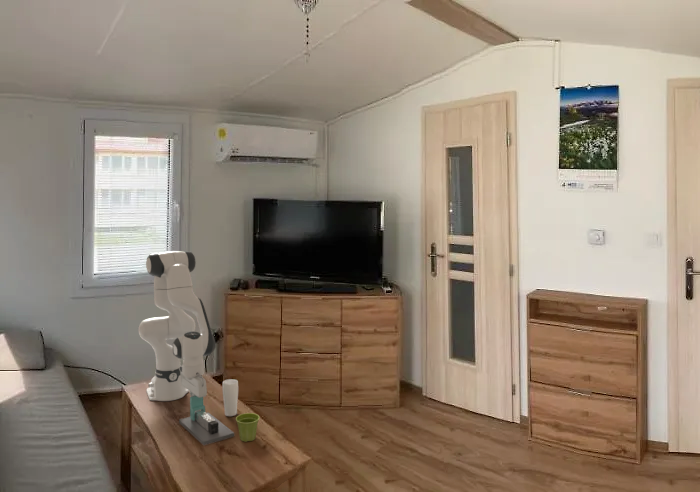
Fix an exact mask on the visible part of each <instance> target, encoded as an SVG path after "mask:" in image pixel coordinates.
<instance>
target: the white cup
mask: <svg viewBox="0 0 700 492" xmlns="http://www.w3.org/2000/svg"><path fill="white" fill-rule="evenodd" d="M222 397H223V406H224V415H225V416H226V417H233V416H234V417H235V416H236V415H238V401H239V399H238V398H239V381H238V380H237V379H234V378H233V379H232V378H229V379H225V380H223V381H222Z"/></svg>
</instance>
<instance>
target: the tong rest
mask: <svg viewBox="0 0 700 492" xmlns="http://www.w3.org/2000/svg"><path fill="white" fill-rule="evenodd" d="M197 411H201V410H197ZM197 411H195V421H193V420H191V419H190V416H188V417H185V418H184V417H183V418H179V419H178V420H179V421H178V423H179V425H181V426H182V427H183V428H184V429H185V430H186V431H187V432H188V433H189V434H191V436H193V437H194V438H195V439H196V440H197V441H198V442H199V443H200V444H201V445H202V446H207V445H209V444H213V443H216V442H217V443H218V442H220V441H223V440H227V439H230V438H235V432H234V431H233V430H231V429H230V428H229V427H227V426H226V425H225V424H224V423H223V422H221V421H220V420H219V419H217V418H216V417H215V416H214V415H212V414H211V413H210V412H208V411H207V412H206V413H207V414H208V415H209V416H211V417H212V418H213V419H214V420H216V421H217V422H218V430H219V432H218V433H214V434H211V433H209V432H208V431H207V430H206V429H205V428H204V427H202V426H201V425H200V424H199V423H198V422H197V421H196V412H197Z"/></svg>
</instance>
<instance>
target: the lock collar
mask: <svg viewBox="0 0 700 492" xmlns="http://www.w3.org/2000/svg"><path fill="white" fill-rule="evenodd" d="M189 408H190V409H189V413H190V414H189V417H190V419H191V420H193V421H195V411H198V410H200V411H201V410H203V411H204V412H206V406H205V405H204V397H201V398H198V397H197V396H192V397H191V396H190V397H189Z"/></svg>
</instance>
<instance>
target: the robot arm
mask: <svg viewBox="0 0 700 492" xmlns="http://www.w3.org/2000/svg"><path fill="white" fill-rule="evenodd" d="M196 262H197V261H196V256H195V254H194V253H193V252H192V251H189V250H182V251H181V250H171V251H165V252H164V251H163V252H159V253H158V252H154V253H150V254H149V255H148V256H147V258H146V262H145V267H146V270H147V273H148V274H149V275H150V276H154V279H153V295H154V296H153V297H154V301H153V303H154V305H155V306H156V307H157V308H159V309H160V310H162V311H166V312H167V313H168V315H167V316H157V317H150V318H146V319H143V320H141V322H140V323H139V326H138V334H139V337H140V338H141V339H142V340H143V341H145V342H146V343H148V344H149V345H150V346H151V348H152V349H153V351H154V354H155V364H156V368H155V370H154V376H153V377H152V378H151V379H150V380H151V381H150V382H148V387H147V388H146V391H145V392H146V394H147V396H148V400H149V401H159V402H171V401H175V400H179V399H181V398H183V397H184V396H186V394H188V393H189V396H190V397H192V396H197V397H198V398H201V397H203V398H205V397H207V394H208V392H207V390H208V389H207V381H206V378H204V377H203V375H204V374H205V361H204V357H205V356H210V355H212V354H213V352H214V351H215V350H216V347H217V346H216V345H217V344H216V339H215V336H214V334H213V332H212V328H211V326H210V321H209V318H208V314H207V311H206V308H205V305H204V303H203V300H202V299H201V298H200V297H197V295H196V294H195V291H194V288H193V285H194V284H193V280H192V276H191V273H192V272H193V271H194V270H195V268H196V264H197V263H196ZM186 311H187V312H190V313H191V314H193V315H194V316H195V318H196V321H197V325H198V328H199V331H200V332H199V331H196V327H197V325H196V321H195V319H194V318H193V317H192V316H191V315H189V314H188V313H186ZM169 340H174V341H173V342H172V345H171V344H169V343H167V341H169ZM181 361H182V363H181ZM181 364H182V365H181Z"/></svg>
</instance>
